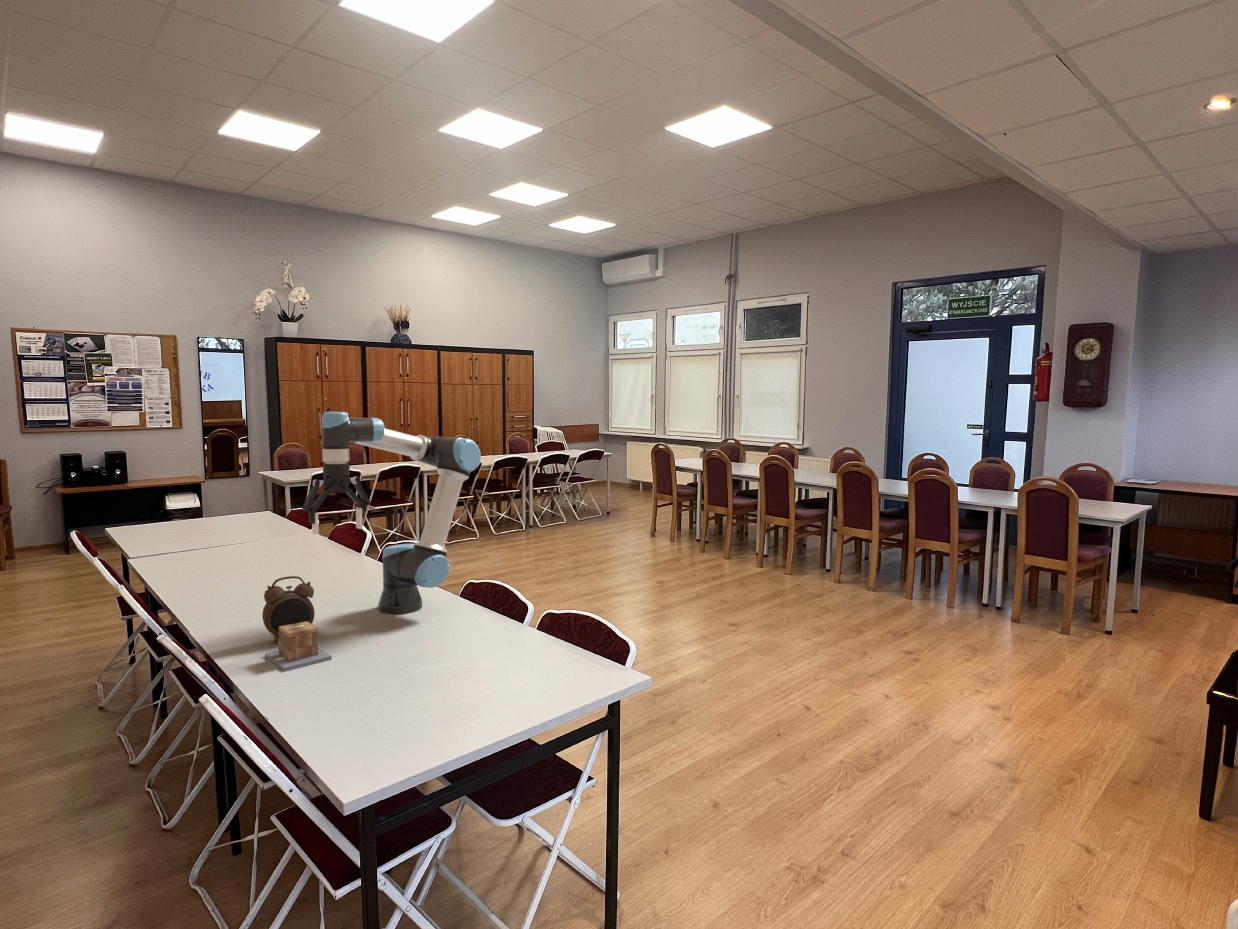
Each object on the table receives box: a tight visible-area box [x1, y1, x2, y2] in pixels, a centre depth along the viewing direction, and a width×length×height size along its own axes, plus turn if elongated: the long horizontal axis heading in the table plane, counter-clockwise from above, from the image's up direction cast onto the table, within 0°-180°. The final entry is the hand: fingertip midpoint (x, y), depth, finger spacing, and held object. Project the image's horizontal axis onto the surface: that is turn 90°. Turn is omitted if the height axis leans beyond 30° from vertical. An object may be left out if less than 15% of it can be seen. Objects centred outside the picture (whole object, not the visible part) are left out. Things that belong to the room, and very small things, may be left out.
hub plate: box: [264, 647, 333, 672], centre depth 197 cm, size 13×15×6 cm
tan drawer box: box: [278, 621, 319, 661], centre depth 197 cm, size 8×8×8 cm
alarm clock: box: [262, 575, 315, 644], centre depth 211 cm, size 15×7×20 cm, turn 126°
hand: (337, 531), depth 209 cm, fingers open, 13 cm apart
